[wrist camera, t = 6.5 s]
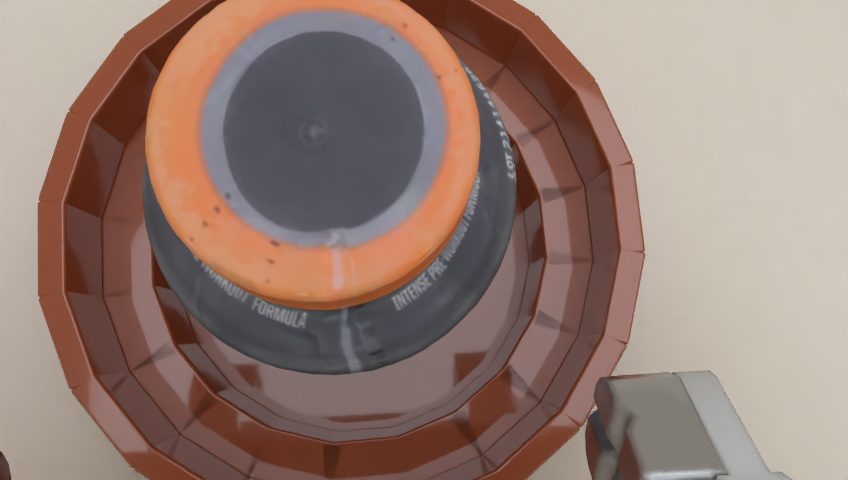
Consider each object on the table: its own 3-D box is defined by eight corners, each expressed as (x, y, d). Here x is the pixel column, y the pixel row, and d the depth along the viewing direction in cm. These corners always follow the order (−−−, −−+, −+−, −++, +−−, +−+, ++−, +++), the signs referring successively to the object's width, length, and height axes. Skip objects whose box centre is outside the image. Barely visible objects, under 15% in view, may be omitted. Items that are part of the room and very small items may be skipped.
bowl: (323, 603, 18) (303, 687, 14) (19, 225, 19) (-91, 189, 15) (678, 279, 20) (762, 262, 16) (383, -52, 21) (383, -157, 17)
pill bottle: (204, 220, 19) (-52, 48, 8) (384, 107, 20) (384, -197, 9) (323, 404, 19) (228, 498, 7) (504, 280, 19) (667, 197, 8)
